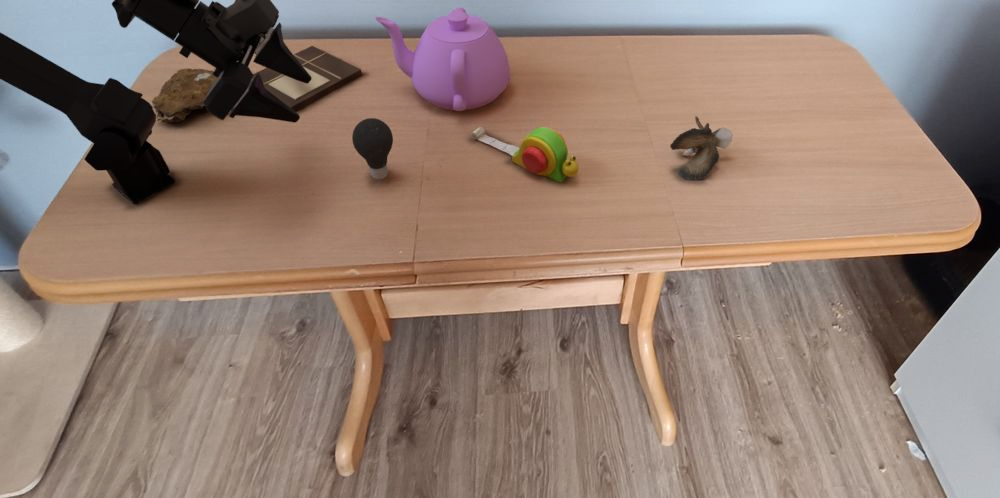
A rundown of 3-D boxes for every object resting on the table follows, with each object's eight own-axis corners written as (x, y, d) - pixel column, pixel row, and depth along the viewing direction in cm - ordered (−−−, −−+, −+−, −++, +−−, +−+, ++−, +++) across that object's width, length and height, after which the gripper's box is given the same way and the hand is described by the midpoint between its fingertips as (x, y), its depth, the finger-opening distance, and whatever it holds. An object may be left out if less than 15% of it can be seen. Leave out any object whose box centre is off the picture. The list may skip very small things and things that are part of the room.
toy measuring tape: (563, 195, 85) (567, 159, 80) (462, 144, 93) (460, 109, 88) (587, 173, 88) (592, 137, 83) (488, 126, 96) (487, 91, 92)
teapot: (392, 60, 111) (381, -13, 101) (506, 57, 111) (507, -16, 101) (381, 129, 96) (366, 51, 86) (513, 125, 96) (514, 47, 86)
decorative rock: (211, 131, 96) (240, 85, 107) (204, 109, 93) (234, 64, 104) (141, 128, 96) (176, 82, 106) (131, 106, 93) (169, 61, 103)
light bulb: (406, 173, 88) (398, 117, 81) (382, 194, 85) (371, 138, 78) (378, 161, 90) (367, 105, 83) (353, 181, 87) (339, 125, 80)
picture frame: (291, 114, 99) (289, 107, 98) (242, 86, 105) (240, 79, 104) (362, 75, 107) (361, 68, 106) (313, 51, 113) (311, 44, 112)
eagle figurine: (676, 131, 93) (656, 151, 87) (712, 103, 88) (693, 122, 82) (706, 167, 94) (688, 190, 87) (744, 142, 88) (727, 164, 82)
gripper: (194, 8, 59) (328, 100, 67) (240, -61, 71) (347, 24, 80) (148, 80, 64) (278, 156, 73) (198, 4, 77) (303, 77, 85)
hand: (304, 99), depth 78 cm, fingers open, 9 cm apart
